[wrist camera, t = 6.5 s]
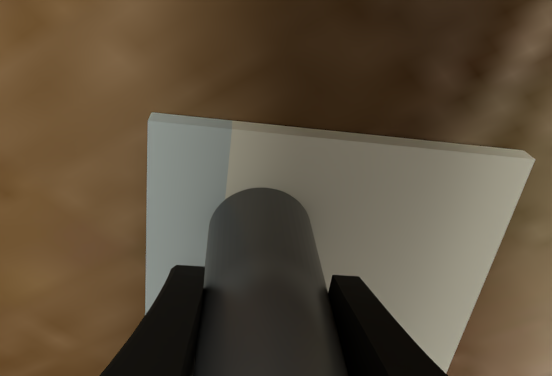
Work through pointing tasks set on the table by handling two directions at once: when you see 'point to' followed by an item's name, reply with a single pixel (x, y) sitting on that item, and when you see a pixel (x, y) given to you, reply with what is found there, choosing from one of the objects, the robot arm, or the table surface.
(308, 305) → the cylinder
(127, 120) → the table surface
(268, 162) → the notepad
